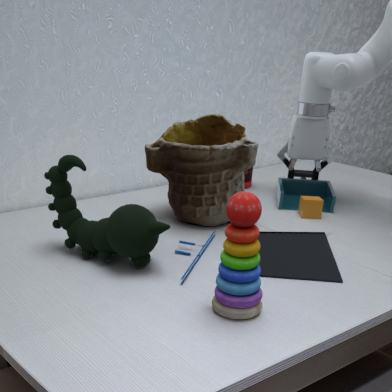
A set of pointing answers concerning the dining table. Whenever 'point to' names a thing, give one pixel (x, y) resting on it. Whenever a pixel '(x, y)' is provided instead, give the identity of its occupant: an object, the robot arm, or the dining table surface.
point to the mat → (297, 256)
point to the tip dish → (304, 191)
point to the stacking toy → (240, 260)
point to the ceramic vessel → (202, 166)
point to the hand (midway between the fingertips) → (301, 184)
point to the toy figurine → (102, 222)
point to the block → (310, 207)
